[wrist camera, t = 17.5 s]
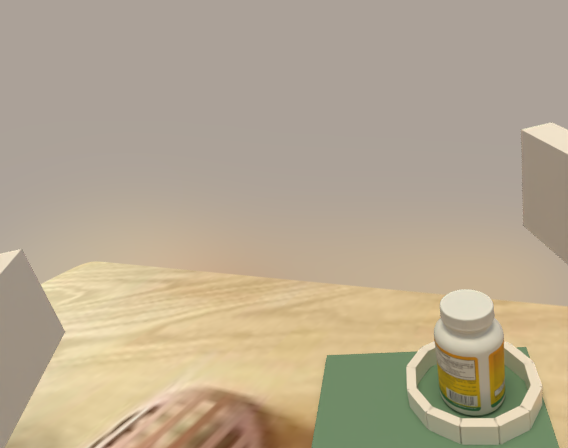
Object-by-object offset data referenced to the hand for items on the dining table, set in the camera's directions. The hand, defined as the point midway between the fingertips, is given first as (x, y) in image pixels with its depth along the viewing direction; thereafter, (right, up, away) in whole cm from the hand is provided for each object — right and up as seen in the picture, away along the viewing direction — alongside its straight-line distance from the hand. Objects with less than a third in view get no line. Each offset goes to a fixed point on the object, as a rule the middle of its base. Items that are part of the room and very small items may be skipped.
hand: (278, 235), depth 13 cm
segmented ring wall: (+17, -15, +31) cm, 38 cm away
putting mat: (+12, -16, +30) cm, 36 cm away
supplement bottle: (+17, -15, +31) cm, 38 cm away
